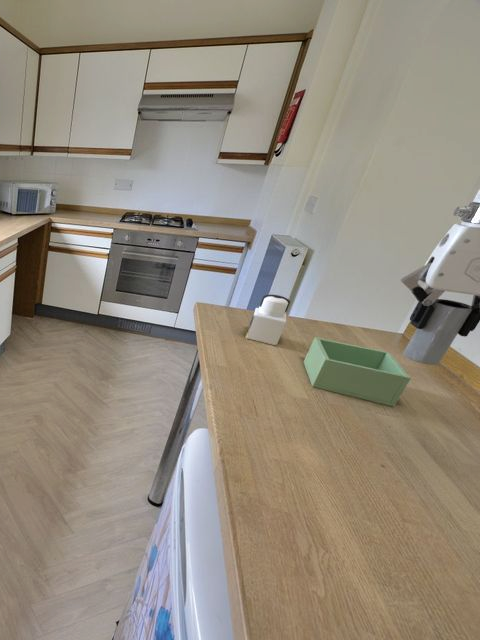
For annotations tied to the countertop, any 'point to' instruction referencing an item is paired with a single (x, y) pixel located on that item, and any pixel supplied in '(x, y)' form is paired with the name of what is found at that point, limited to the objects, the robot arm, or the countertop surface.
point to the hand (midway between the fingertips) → (437, 328)
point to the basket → (355, 371)
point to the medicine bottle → (268, 320)
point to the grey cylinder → (437, 332)
